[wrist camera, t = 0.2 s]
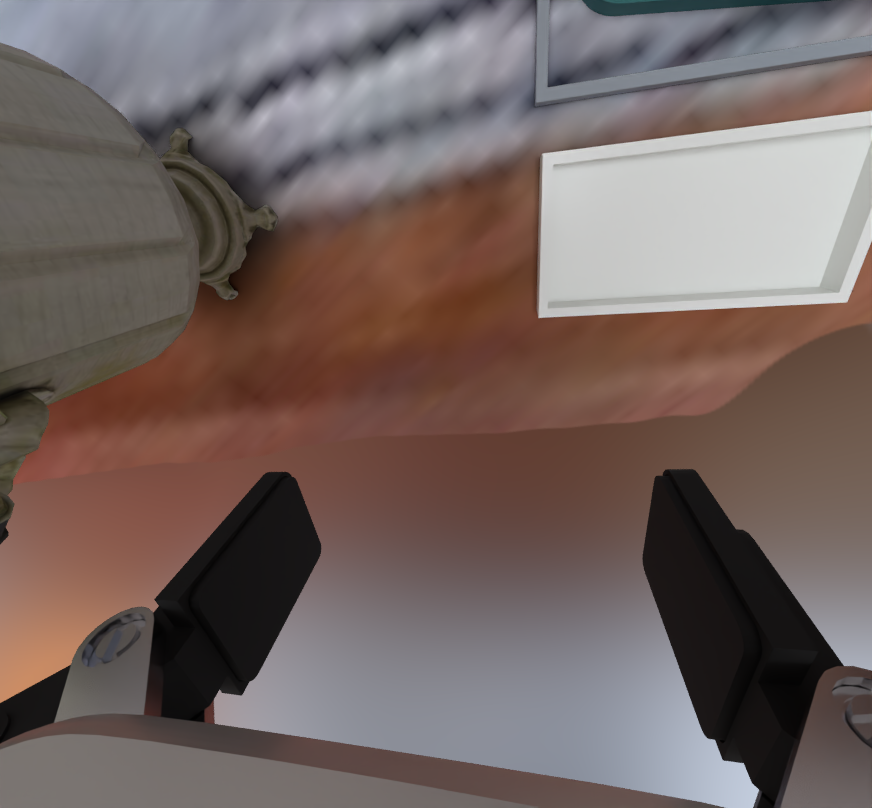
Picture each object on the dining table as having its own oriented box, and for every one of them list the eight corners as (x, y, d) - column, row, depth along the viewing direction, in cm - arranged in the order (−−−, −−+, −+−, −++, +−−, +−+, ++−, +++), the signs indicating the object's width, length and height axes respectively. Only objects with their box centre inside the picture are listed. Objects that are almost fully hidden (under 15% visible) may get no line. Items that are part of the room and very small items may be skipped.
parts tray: (540, 157, 32) (542, 153, 29) (886, 112, 27) (926, 103, 24) (536, 309, 37) (538, 317, 35) (820, 293, 33) (847, 302, 30)
